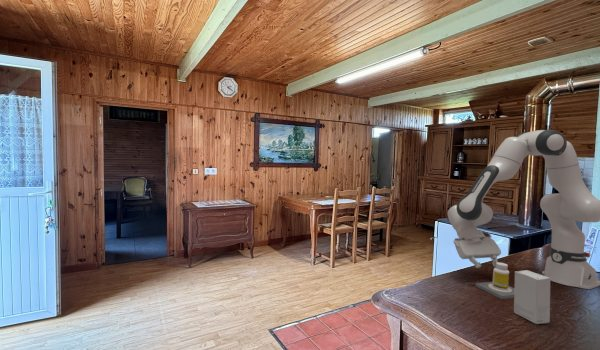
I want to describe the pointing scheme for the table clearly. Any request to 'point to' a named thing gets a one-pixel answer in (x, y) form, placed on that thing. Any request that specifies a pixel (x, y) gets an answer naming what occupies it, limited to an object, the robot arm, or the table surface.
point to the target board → (496, 290)
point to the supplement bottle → (500, 276)
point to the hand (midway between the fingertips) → (488, 266)
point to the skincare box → (532, 296)
